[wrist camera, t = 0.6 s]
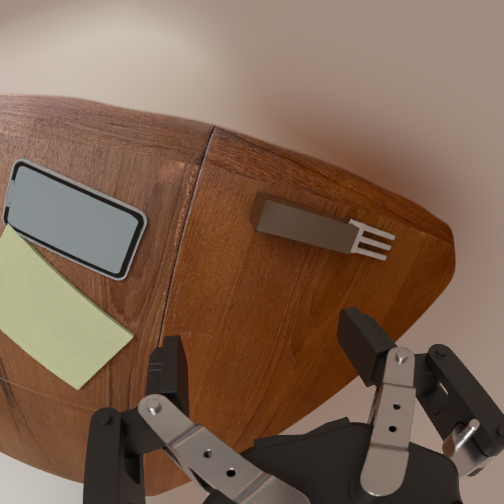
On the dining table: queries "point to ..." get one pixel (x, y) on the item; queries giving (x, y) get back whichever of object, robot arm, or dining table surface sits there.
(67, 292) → the placemat
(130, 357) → the dining table surface
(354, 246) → the fork
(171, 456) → the robot arm
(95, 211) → the smartphone
